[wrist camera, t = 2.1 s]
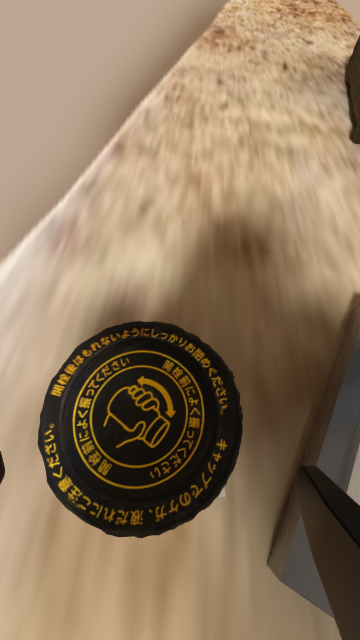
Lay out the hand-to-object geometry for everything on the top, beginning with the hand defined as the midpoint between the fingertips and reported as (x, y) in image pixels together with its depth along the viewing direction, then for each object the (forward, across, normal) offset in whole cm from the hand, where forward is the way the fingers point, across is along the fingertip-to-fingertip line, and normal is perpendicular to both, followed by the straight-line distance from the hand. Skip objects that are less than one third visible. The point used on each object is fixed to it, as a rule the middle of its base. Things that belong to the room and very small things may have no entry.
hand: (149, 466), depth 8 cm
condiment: (+8, 0, +6) cm, 10 cm away
